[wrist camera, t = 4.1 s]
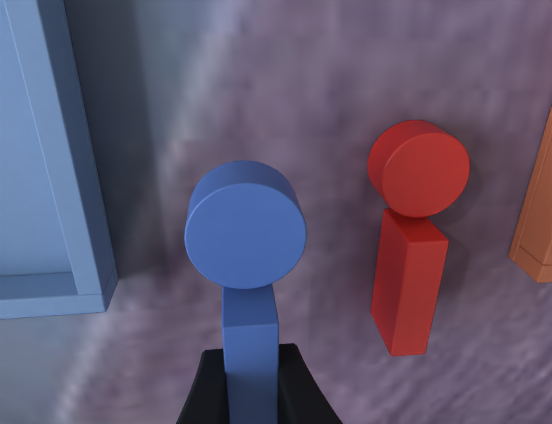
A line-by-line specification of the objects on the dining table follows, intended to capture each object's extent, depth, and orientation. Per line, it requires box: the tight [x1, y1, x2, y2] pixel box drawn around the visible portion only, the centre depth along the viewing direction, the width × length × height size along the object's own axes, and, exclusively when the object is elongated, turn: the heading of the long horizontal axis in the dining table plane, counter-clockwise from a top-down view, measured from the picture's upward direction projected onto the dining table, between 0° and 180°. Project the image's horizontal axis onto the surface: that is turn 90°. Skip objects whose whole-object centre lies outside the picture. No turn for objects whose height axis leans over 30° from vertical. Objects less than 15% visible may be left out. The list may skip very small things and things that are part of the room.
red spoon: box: [367, 120, 470, 356], centre depth 15 cm, size 8×3×3 cm, turn 0°
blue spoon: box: [184, 160, 307, 424], centre depth 12 cm, size 8×3×3 cm, turn 0°
